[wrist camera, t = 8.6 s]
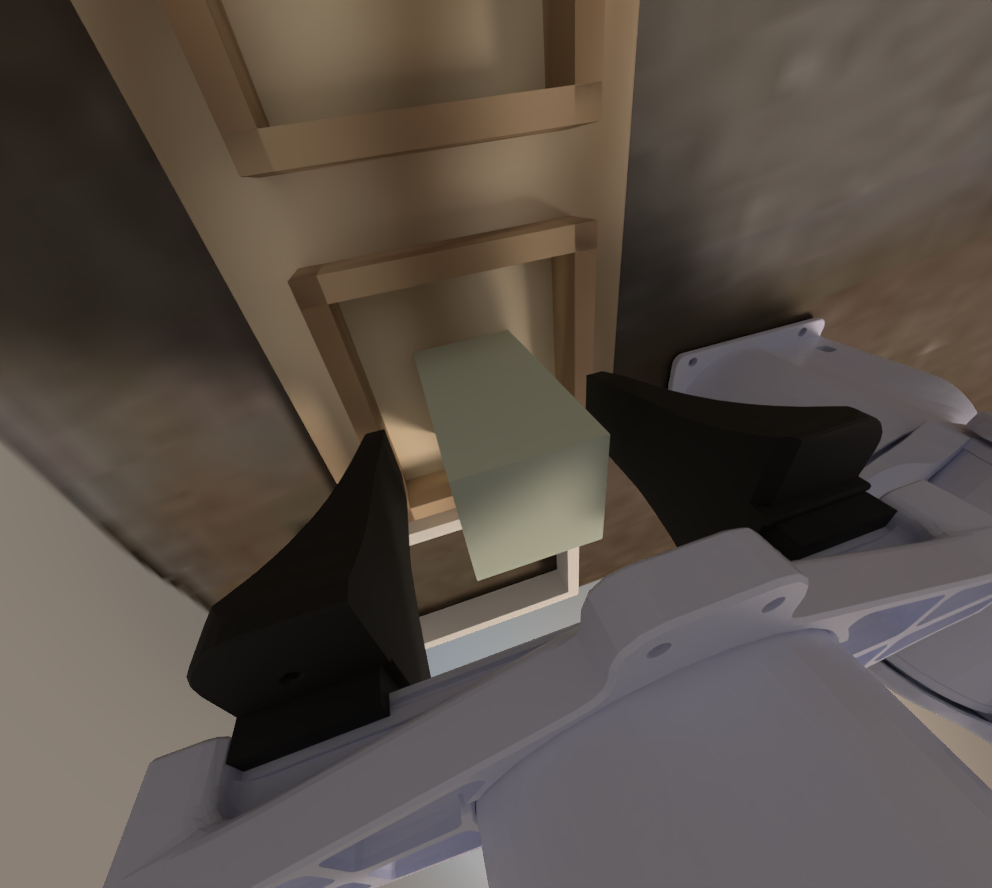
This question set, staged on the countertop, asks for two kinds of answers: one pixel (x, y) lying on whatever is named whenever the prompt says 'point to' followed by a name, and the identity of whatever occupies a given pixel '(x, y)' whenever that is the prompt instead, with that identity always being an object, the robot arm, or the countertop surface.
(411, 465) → the wooden divided tray
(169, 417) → the countertop surface
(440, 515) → the rectangular frame
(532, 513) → the block
